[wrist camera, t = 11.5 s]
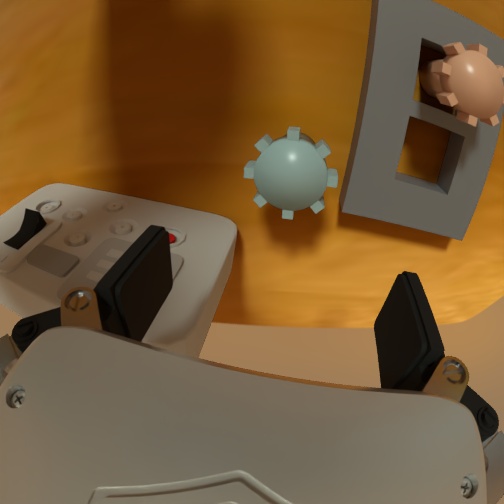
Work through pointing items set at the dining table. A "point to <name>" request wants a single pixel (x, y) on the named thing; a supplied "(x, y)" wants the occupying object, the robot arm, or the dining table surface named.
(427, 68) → the jaw gear
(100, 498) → the robot arm
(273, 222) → the dining table surface
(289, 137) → the jaw gear
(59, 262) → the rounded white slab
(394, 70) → the housing
